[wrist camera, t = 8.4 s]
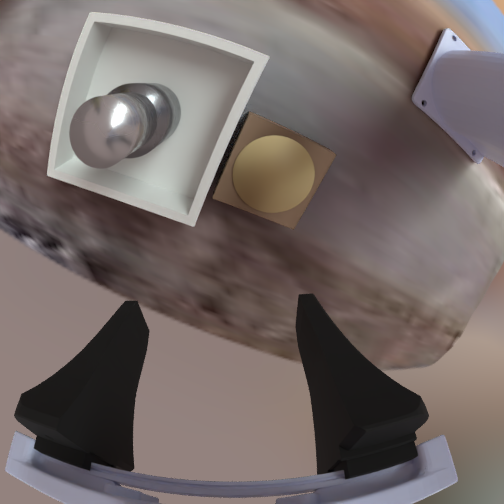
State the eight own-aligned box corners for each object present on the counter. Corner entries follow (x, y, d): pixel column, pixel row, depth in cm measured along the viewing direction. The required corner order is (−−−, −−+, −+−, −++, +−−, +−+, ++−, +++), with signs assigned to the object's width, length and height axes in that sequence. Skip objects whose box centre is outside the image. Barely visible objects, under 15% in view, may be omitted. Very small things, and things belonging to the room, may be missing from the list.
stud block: (329, 149, 18) (336, 155, 17) (290, 219, 21) (293, 230, 20) (249, 111, 16) (249, 113, 15) (214, 190, 19) (212, 198, 18)
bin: (264, 61, 15) (269, 56, 12) (200, 205, 20) (194, 227, 17) (111, 19, 12) (90, 11, 9) (69, 161, 17) (46, 175, 15)
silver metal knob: (183, 141, 17) (150, 174, 11) (123, 148, 17) (69, 184, 11) (179, 78, 14) (140, 75, 9) (117, 89, 14) (56, 97, 8)
